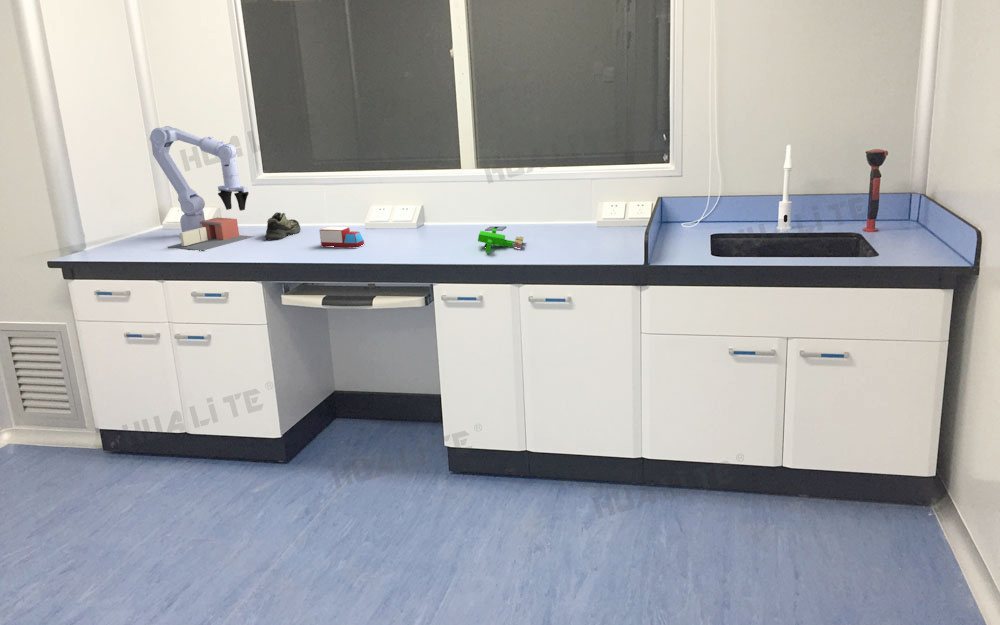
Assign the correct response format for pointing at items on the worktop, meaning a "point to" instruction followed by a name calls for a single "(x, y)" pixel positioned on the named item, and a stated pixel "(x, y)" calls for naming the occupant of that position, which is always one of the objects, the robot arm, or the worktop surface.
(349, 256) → the worktop surface
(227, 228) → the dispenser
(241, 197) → the robot arm
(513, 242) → the toy
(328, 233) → the toy truck
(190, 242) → the cream rectangular block
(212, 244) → the mat
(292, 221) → the hiking shoe
